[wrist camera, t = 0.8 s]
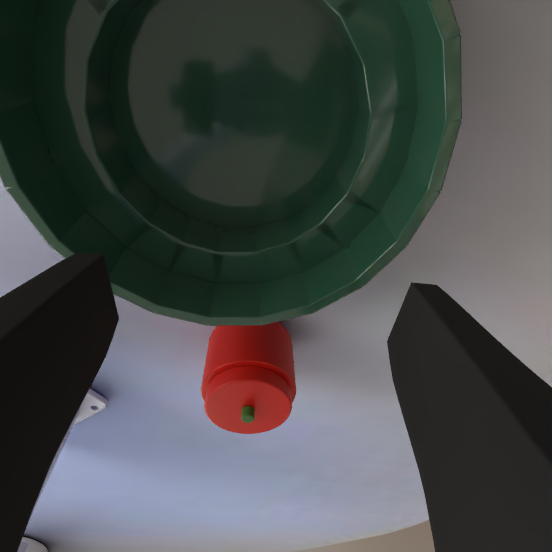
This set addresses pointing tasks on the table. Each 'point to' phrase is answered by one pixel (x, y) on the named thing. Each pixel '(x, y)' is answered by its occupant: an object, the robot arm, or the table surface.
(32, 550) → the milk bottle
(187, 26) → the green round bowl
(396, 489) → the table surface
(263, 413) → the pepper
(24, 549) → the robot arm
